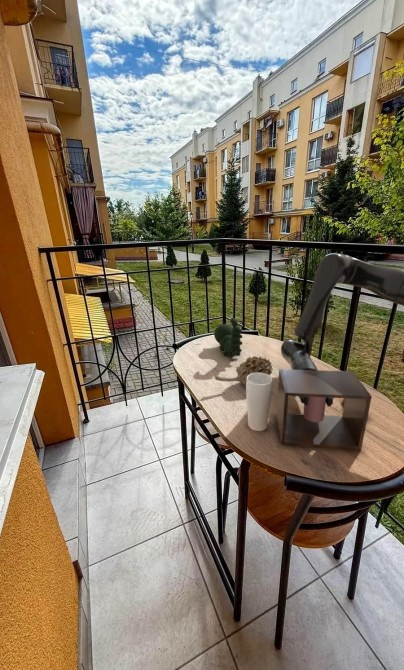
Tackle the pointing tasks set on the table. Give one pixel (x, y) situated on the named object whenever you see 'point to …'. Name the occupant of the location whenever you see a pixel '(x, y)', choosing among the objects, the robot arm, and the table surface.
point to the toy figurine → (229, 338)
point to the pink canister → (315, 409)
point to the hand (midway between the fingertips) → (318, 402)
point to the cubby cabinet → (332, 428)
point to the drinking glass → (258, 400)
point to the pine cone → (250, 369)
